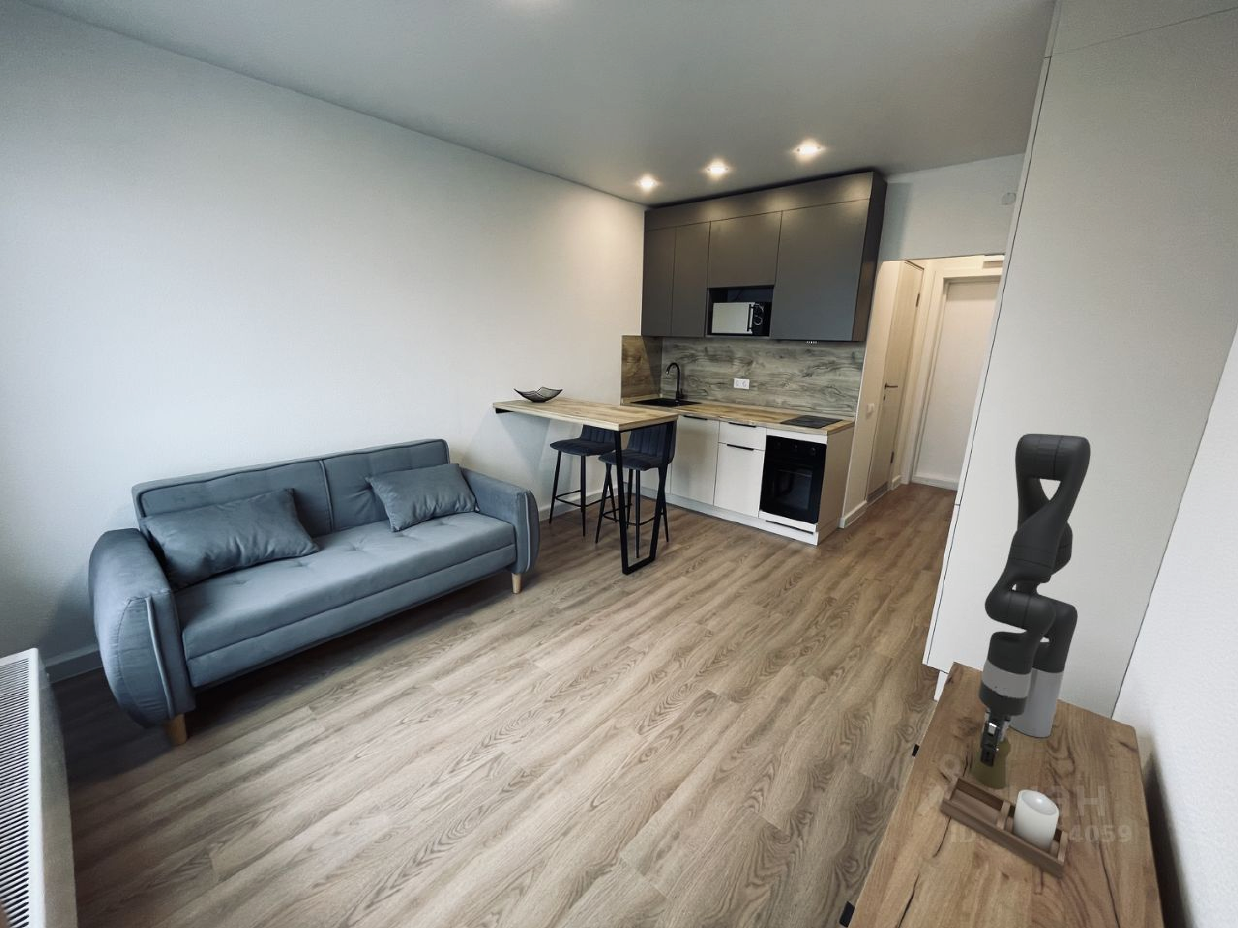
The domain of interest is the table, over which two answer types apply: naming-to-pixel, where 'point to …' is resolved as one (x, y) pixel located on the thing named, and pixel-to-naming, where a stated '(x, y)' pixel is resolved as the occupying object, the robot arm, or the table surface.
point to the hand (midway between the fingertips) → (990, 752)
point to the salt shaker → (1035, 820)
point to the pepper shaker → (997, 773)
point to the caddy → (999, 822)
